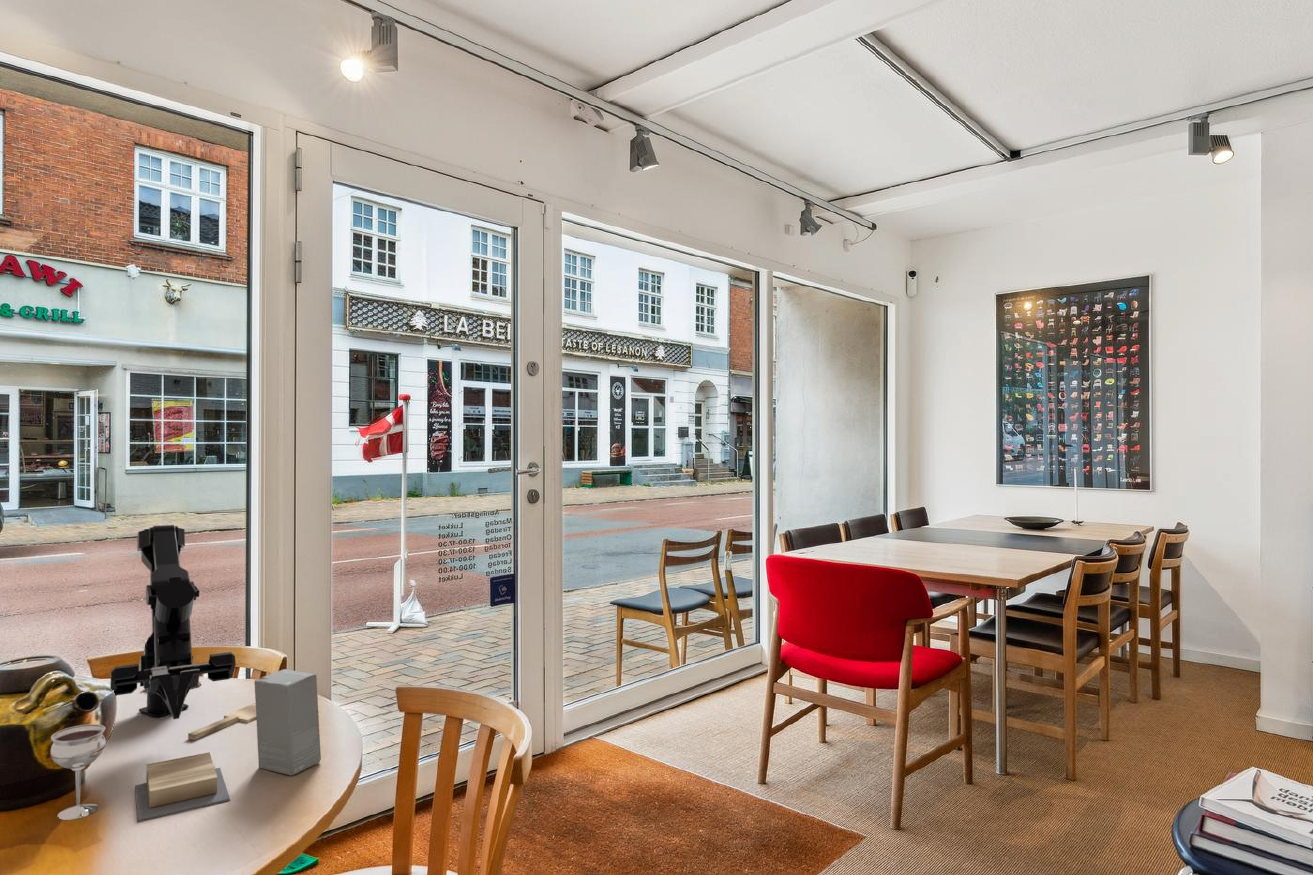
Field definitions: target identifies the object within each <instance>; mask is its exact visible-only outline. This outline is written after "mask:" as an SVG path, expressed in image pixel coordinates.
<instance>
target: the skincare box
mask: <svg viewBox="0 0 1313 875" xmlns="http://www.w3.org/2000/svg"><path fill="white" fill-rule="evenodd" d="M253 683H254V695H255V696H254V697H255V700H254V701H255V703H256V719H255V720H256V736H257V737H256V738H257V755H258V768H259V769H264V770H268V771H271V772H275V773H279V774H280V773H281V774H284V775H287V776H288V775H289V776H291V777H292V776H294V775H296V774H298V773H300V772H302V771H304V770H306V769H308V768H311V767H312V766H314V765H317V764H319V763H321V760H322V756H321V737H320V721H319V720H320V715H319V702H318V700H319V699H318V698H319V697H318V682H317V674H316V673H312V672H305V671H304V672H303V671H298V670H292V669H286V668H284V669H280V670H278V671H276V672H273V673H271V674H270V673H269V674H268V675H265V676H262V677H260V678H257V679H254V682H253Z"/></svg>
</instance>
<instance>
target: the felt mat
mask: <svg viewBox="0 0 1313 875" xmlns="http://www.w3.org/2000/svg"><path fill="white" fill-rule="evenodd" d="M214 768H215V767H214ZM215 771H216V774H217V793H214V794H209V795H205V796H200V797H196V798H191V799H187V800H182V801H178V802H173V803H169V804H164V805H160V806H155V807H151V808H150V807H149V798H148V789H147V782H143V783H138V784H135V797H136V800H135V801H136V808H137V809H136V811H137V822H143V821H147V820H151V819H155V818H161V817H164V816H168V815H174V814H177V813H181V812H186V811H190V810H193V809H194V810H195V809H199V808H204V807H207V806H208V807H209V806H211V805H213V806H214V805H218V804H220V803H225V802H229V801H231V797H230V795H229V794H230V793H229V791H228V788H227V785H226V782H225V779H224V776H223V773H222V769H221V767H217V768H215Z"/></svg>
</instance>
